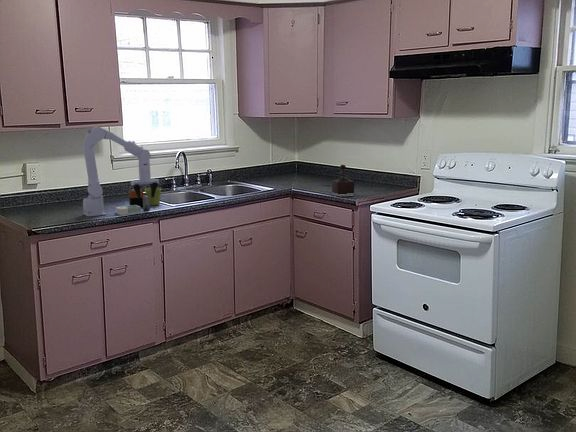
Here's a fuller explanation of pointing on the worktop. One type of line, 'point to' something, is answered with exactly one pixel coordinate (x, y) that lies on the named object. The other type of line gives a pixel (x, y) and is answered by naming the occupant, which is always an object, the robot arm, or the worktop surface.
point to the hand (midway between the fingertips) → (145, 197)
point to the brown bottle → (342, 183)
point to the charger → (128, 210)
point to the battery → (134, 200)
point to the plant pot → (156, 198)
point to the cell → (146, 203)
